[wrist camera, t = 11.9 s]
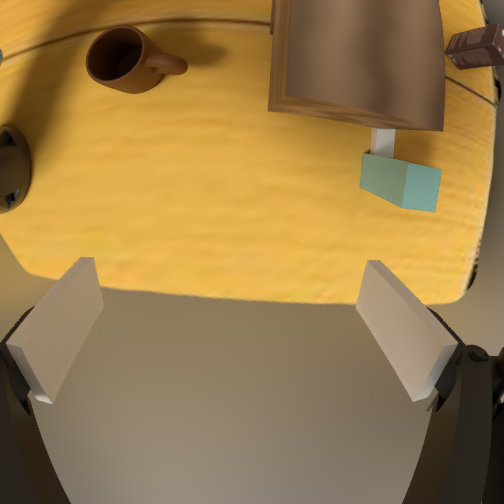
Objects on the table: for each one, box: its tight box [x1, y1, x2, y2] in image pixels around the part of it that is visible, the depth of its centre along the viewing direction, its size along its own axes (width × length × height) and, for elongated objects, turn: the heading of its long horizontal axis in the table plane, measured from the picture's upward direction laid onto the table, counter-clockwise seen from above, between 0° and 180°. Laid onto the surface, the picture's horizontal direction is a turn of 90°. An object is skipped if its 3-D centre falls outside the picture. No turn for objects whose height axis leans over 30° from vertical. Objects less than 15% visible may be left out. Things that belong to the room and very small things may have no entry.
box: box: [445, 24, 504, 70], centre depth 24 cm, size 6×4×12 cm
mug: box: [86, 25, 188, 94], centre depth 27 cm, size 12×8×9 cm, turn 72°
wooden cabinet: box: [268, 0, 445, 132], centre depth 24 cm, size 15×18×18 cm
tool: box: [360, 127, 442, 212], centre depth 30 cm, size 5×18×12 cm, turn 177°
